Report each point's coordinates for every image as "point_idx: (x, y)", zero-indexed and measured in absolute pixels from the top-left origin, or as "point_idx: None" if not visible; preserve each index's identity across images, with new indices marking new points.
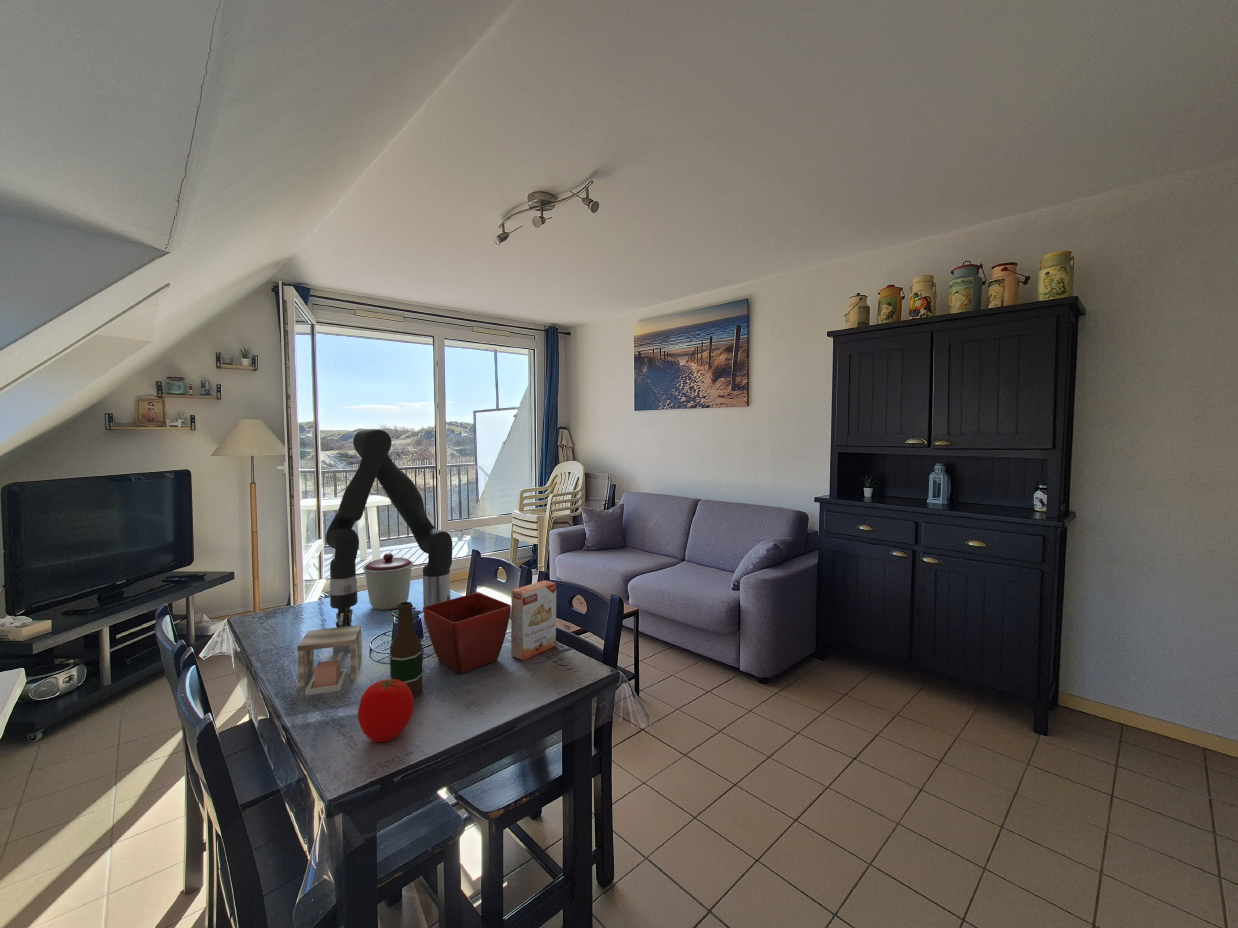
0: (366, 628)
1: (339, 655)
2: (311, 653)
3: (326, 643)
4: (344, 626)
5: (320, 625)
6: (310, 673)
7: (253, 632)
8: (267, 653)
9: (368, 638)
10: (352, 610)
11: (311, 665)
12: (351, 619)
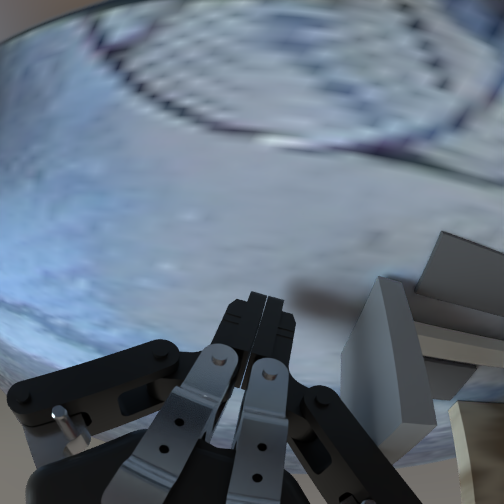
0: (24, 163)
1: (424, 350)
2: (498, 478)
3: None
4: (399, 484)
5: (4, 310)
6: (501, 421)
7: None
8: None
9: (151, 149)
10: (23, 397)
11: (495, 439)
12: (169, 414)
